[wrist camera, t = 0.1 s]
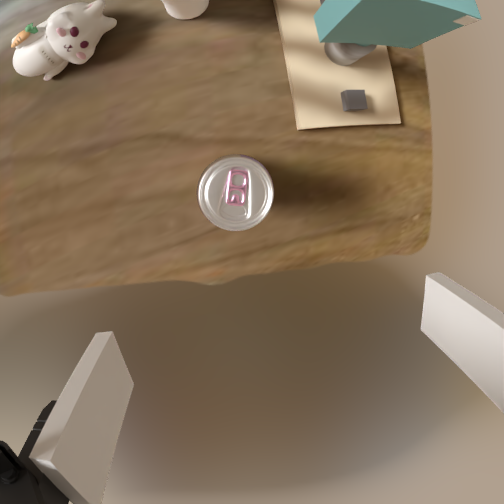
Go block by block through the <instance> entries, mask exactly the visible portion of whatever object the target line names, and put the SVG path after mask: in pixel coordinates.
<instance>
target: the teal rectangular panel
mask: <svg viewBox="0 0 504 504" xmlns="http://www.w3.org/2000/svg"><path fill="white" fill-rule="evenodd" d="M480 19H481V16H480V13H479V10H478V8H477V5H476V2H475V0H325V1H324V3H323V4H322V5H321V7H320V8H319V9H318V11H317V12H316V13H315V15H314V20H315V25H316V29H317V33H318V38H319V42H320V43H356V44H357V45H359V46H363V47H366V46H369V45H371V44H373V45H384V46H394V47H403V48H410V49H411V48H413V47H415V46H418V45H420V44H422V43H424V42H426V41H429V40H431V39H433V38H435V37H438V36H440V35H442V34H445V33H447V32H450V31H452V30H454V29H457V28H459V27H462V26H464V25H465V26H466V25H468V24H471V23H474V22H476V21H479V20H480Z"/></svg>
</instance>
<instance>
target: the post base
mask: <svg viewBox="0 0 504 504" xmlns="http://www.w3.org/2000/svg"><path fill="white" fill-rule="evenodd" d="M324 1H325V0H273V3H274V7H275V12H276V16H277V21H278V26H279V31H280V35H281V40H282V45H283V50H284V55H285V61H286V66H287V71H288V77H289V82H290V88H291V94H292V100H293V106H294V112H295V118H296V124H297V130H303V129H314V128H326V127H339V126H356V125H380V124H400V123H401V121H400V114H399V107H398V101H397V95H396V90H395V84H394V79H393V74H392V69H391V64H390V60H389V55H388V51H387V47H386V46H384V45H373V44H371V45H369V46H366V47H363V46H359V45H357V44H356V43H320V42H319V38H318V33H317V29H316V25H315V20H314V15H315V13H316V12H317V11H318V9H319V8H320V7H321V5H322V4H323V3H324Z"/></svg>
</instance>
